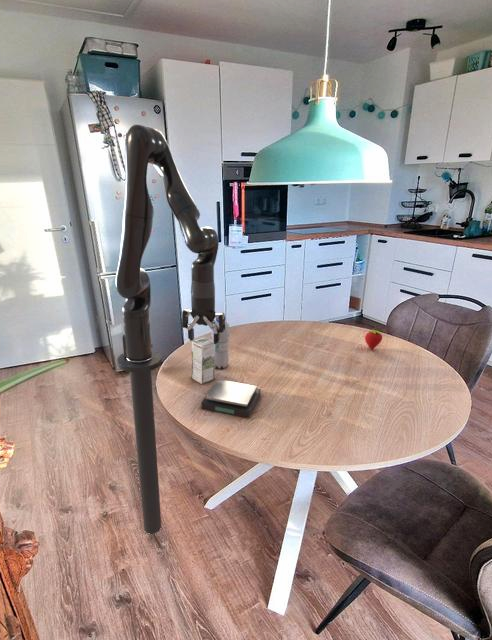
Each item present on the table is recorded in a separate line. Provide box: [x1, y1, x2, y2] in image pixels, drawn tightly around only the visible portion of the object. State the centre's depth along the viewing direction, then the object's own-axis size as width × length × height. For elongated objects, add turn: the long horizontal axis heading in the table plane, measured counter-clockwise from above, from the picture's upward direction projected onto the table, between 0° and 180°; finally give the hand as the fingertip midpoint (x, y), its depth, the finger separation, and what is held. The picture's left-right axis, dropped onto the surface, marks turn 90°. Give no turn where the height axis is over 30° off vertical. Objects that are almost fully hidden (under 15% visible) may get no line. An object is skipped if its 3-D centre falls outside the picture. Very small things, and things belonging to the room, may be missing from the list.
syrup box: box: [191, 337, 215, 385], centre depth 132 cm, size 6×6×14 cm
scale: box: [200, 381, 262, 419], centre depth 121 cm, size 15×14×2 cm
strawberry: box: [364, 326, 383, 350], centre depth 163 cm, size 6×8×10 cm
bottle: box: [210, 317, 231, 370], centre depth 141 cm, size 7×7×20 cm
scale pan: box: [205, 379, 258, 407], centre depth 120 cm, size 13×12×1 cm
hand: (203, 341), depth 129 cm, fingers open, 8 cm apart
